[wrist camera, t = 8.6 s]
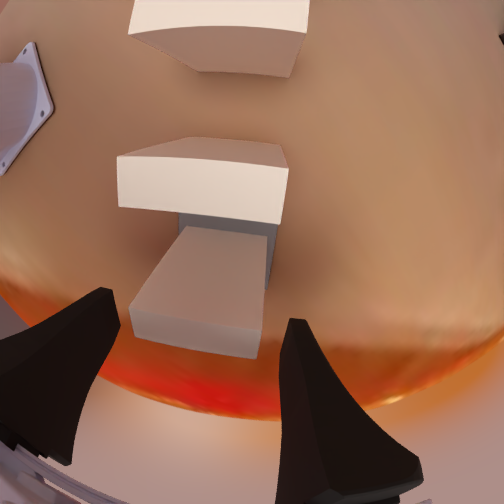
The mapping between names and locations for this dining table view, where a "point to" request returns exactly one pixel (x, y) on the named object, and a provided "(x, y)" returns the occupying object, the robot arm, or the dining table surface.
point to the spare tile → (205, 294)
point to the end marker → (234, 230)
